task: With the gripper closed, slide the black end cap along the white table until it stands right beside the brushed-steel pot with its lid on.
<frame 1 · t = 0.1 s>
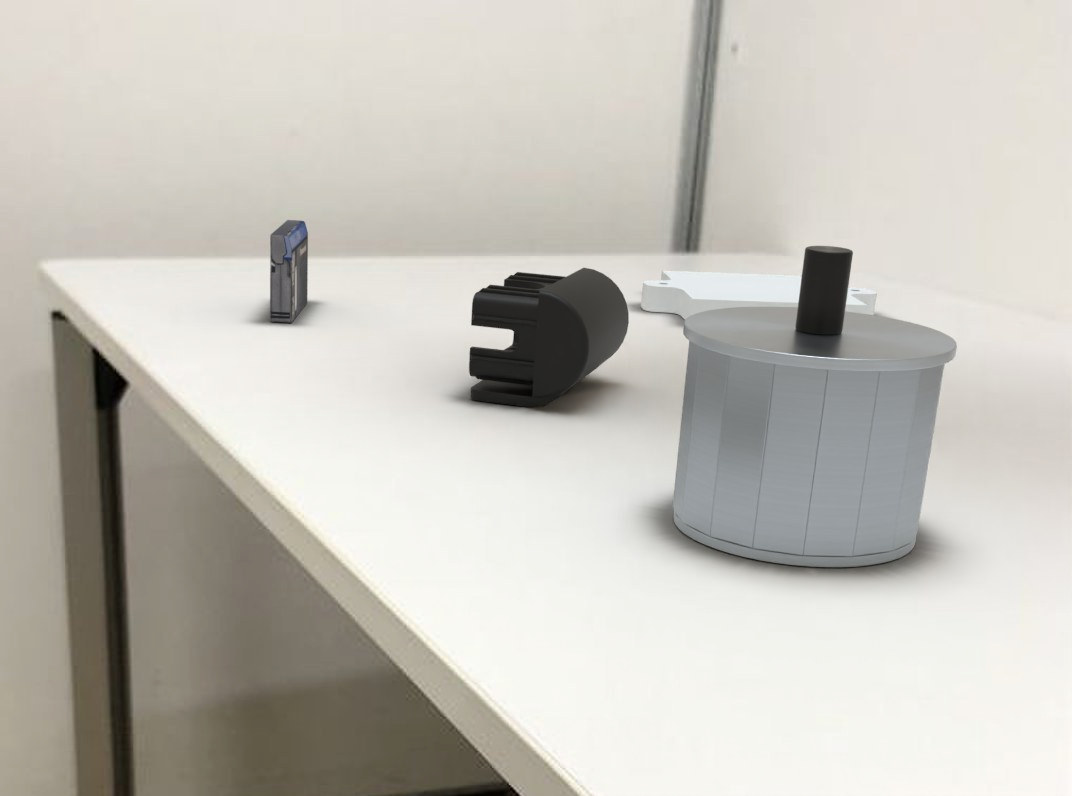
pot: (792, 528, 74), on the table
end cap: (547, 394, 97), on the table
mini dv tape: (289, 314, 117), on the table
pot lid: (817, 342, 70), point 8 cm above the table, touching pot
mounting plate: (756, 314, 125), on the table
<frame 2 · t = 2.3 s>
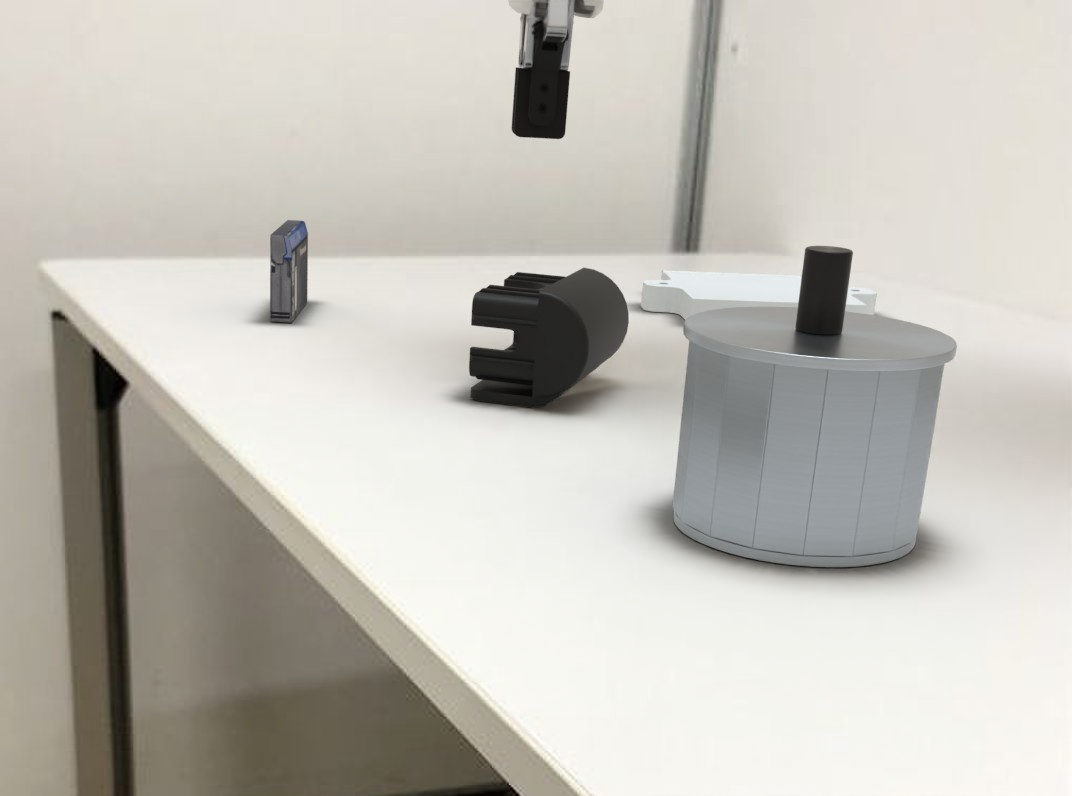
hand: (537, 136, 101), 14 cm above the table, tool pointing down, fingers closed
nothing on the table moved.
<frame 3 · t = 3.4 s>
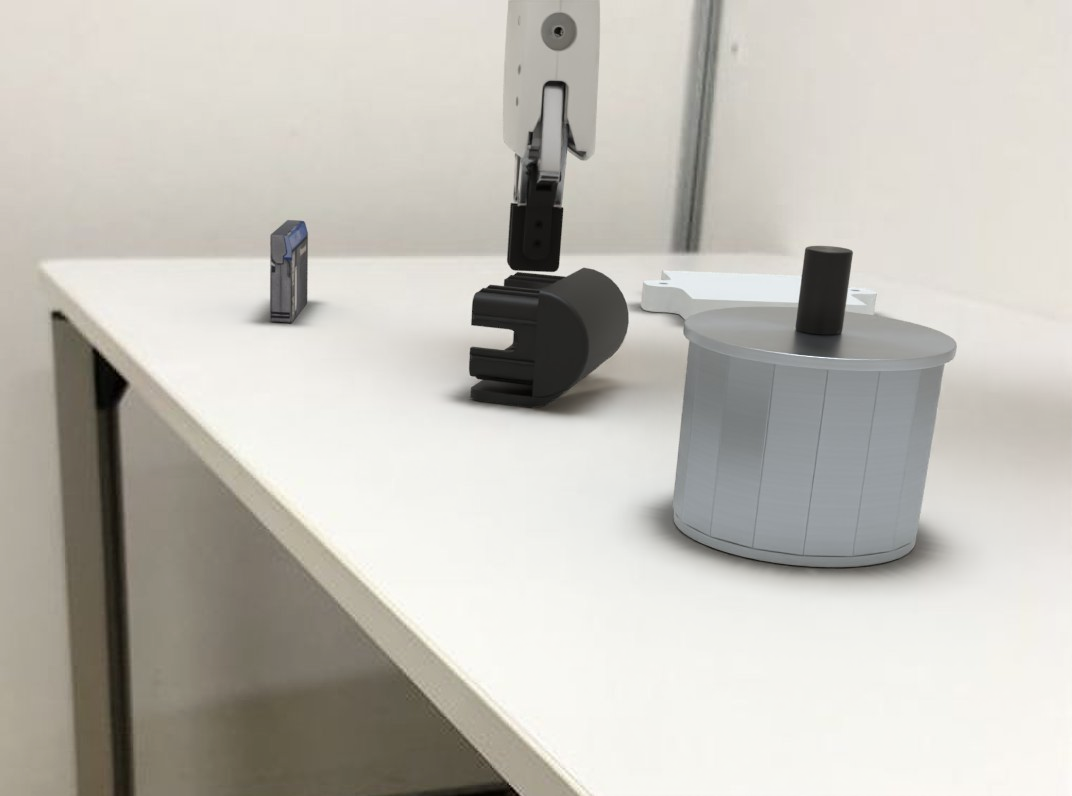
hand: (532, 268, 104), 6 cm above the table, tool pointing down, fingers closed
nothing on the table moved.
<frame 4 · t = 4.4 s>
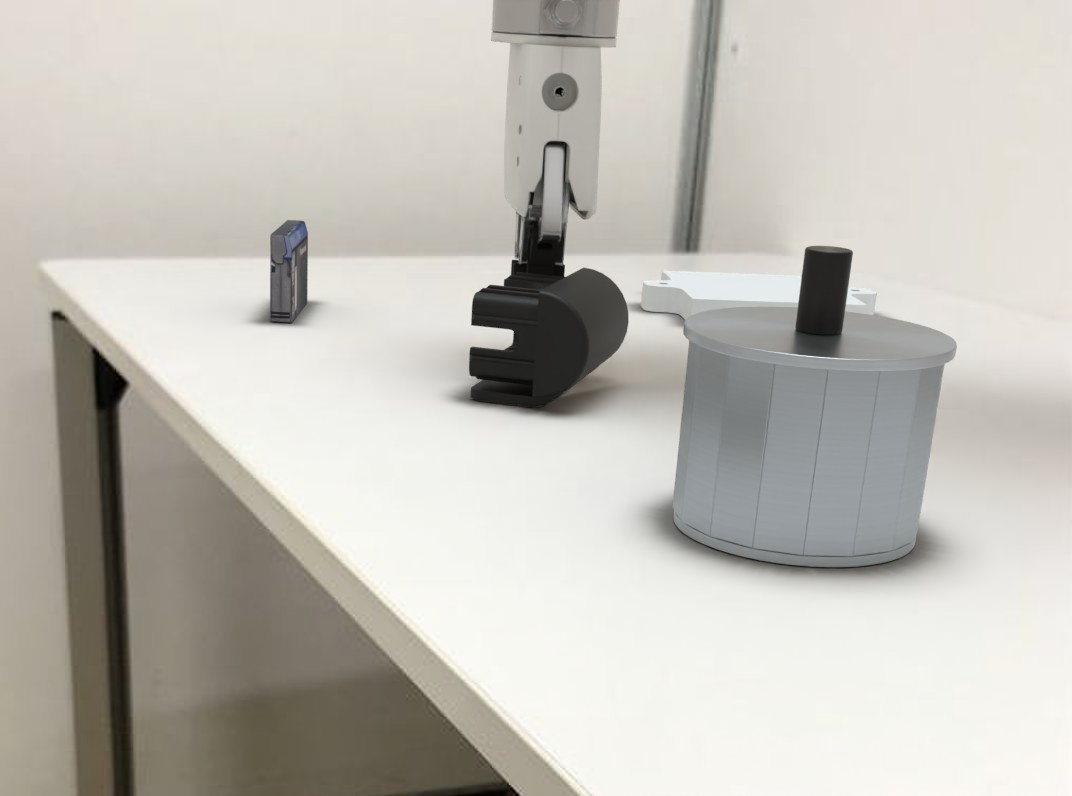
hand: (533, 325, 103), 2 cm above the table, tool pointing down, fingers closed
end cap: (547, 394, 97), on the table, touching gripper
everything else where it was.
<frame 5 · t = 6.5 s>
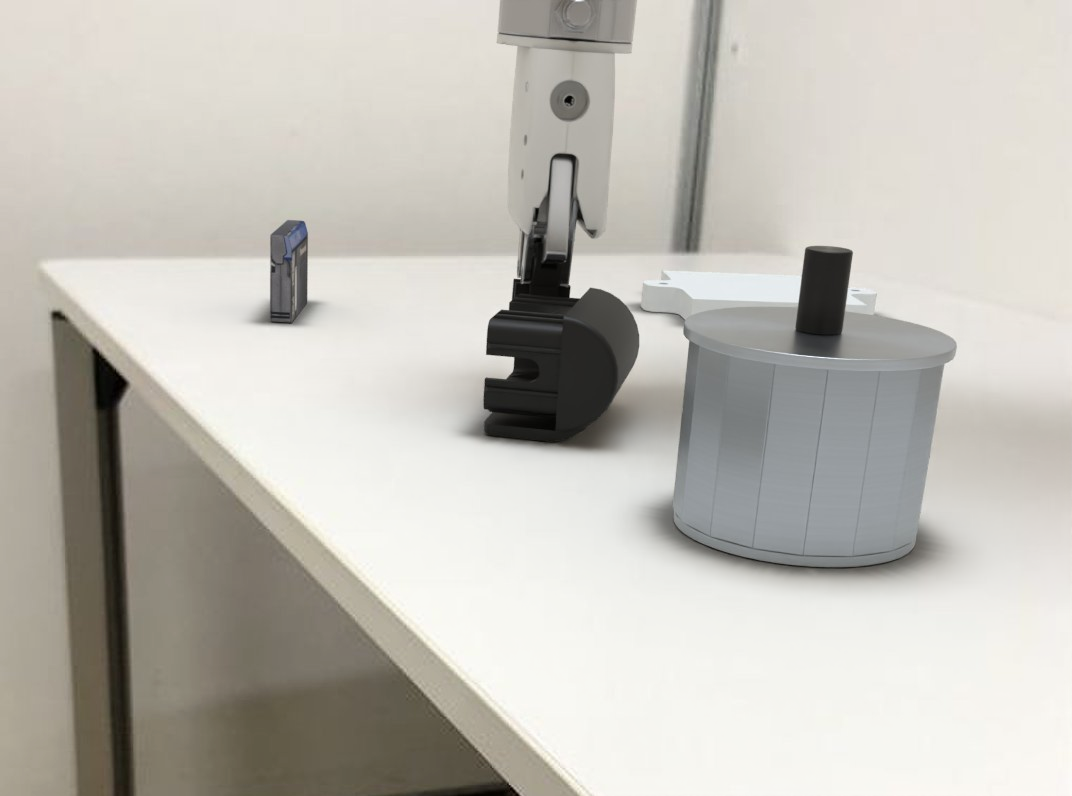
hand: (535, 349, 96), 2 cm above the table, tool pointing down, fingers closed
end cap: (560, 425, 90), on the table, touching gripper
everything else where it was.
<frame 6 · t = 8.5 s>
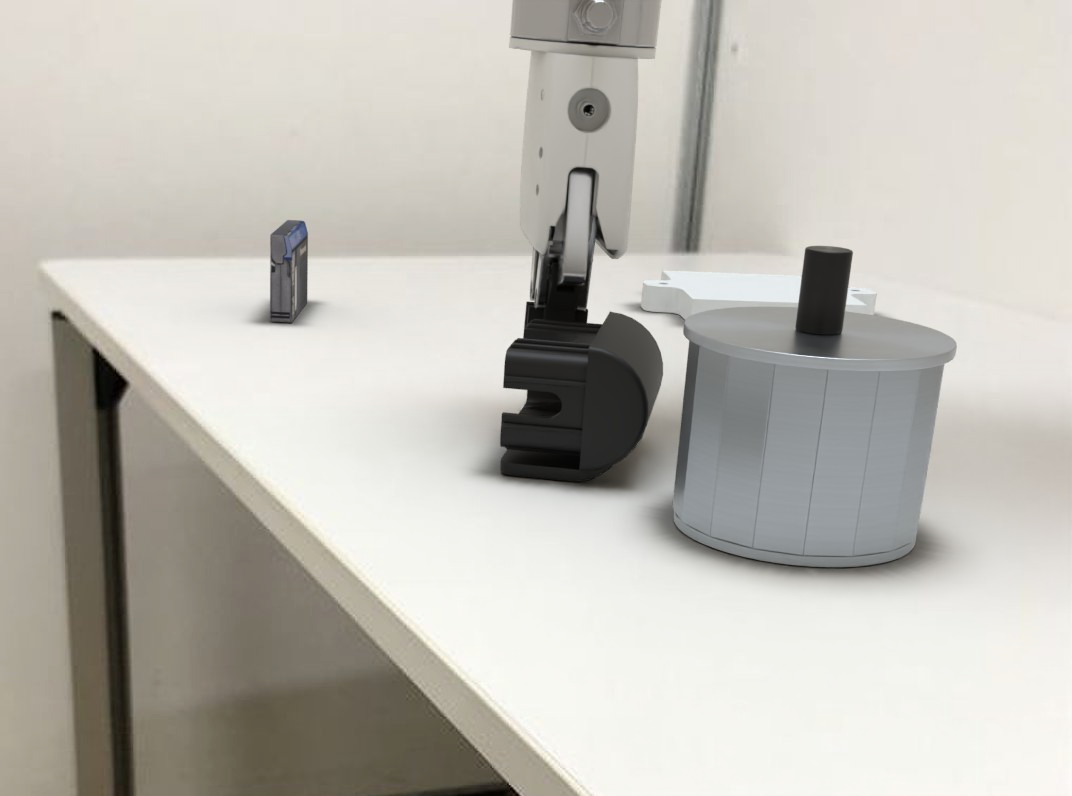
hand: (550, 377, 89), 2 cm above the table, tool pointing down, fingers closed
end cap: (580, 462, 83), on the table, touching gripper
everything else where it was.
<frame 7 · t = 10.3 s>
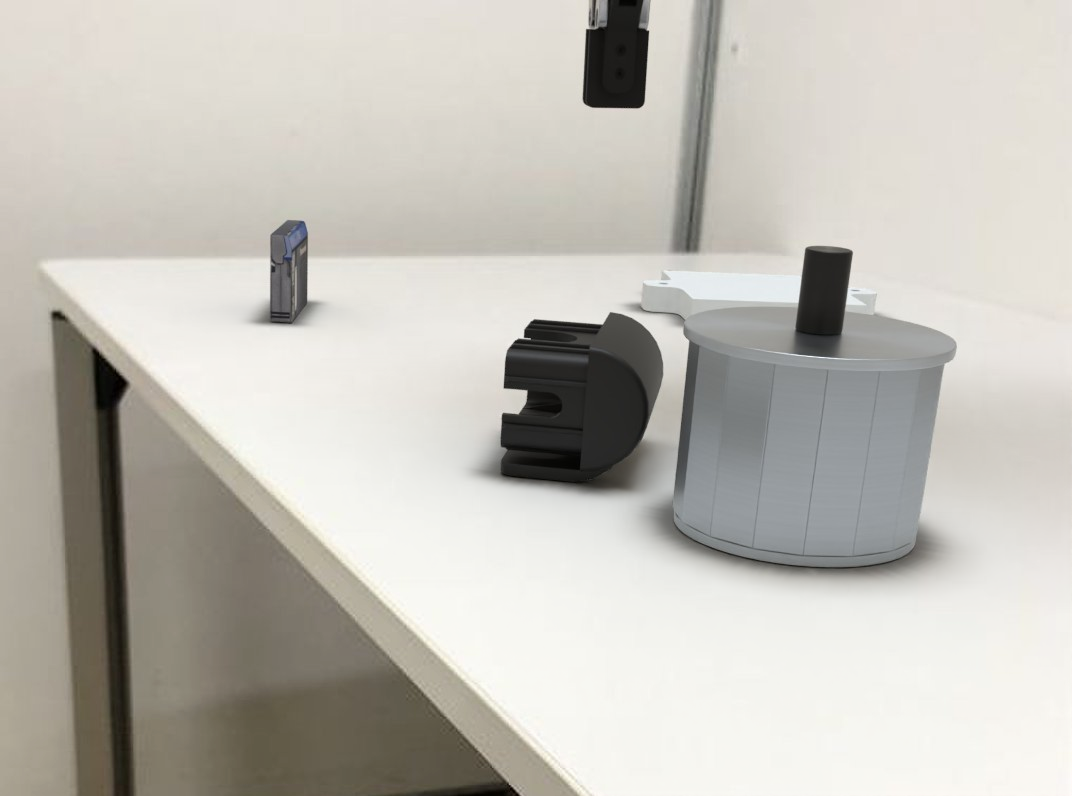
hand: (613, 106, 89), 17 cm above the table, tool pointing down, fingers closed
end cap: (580, 462, 83), on the table
everything else where it was.
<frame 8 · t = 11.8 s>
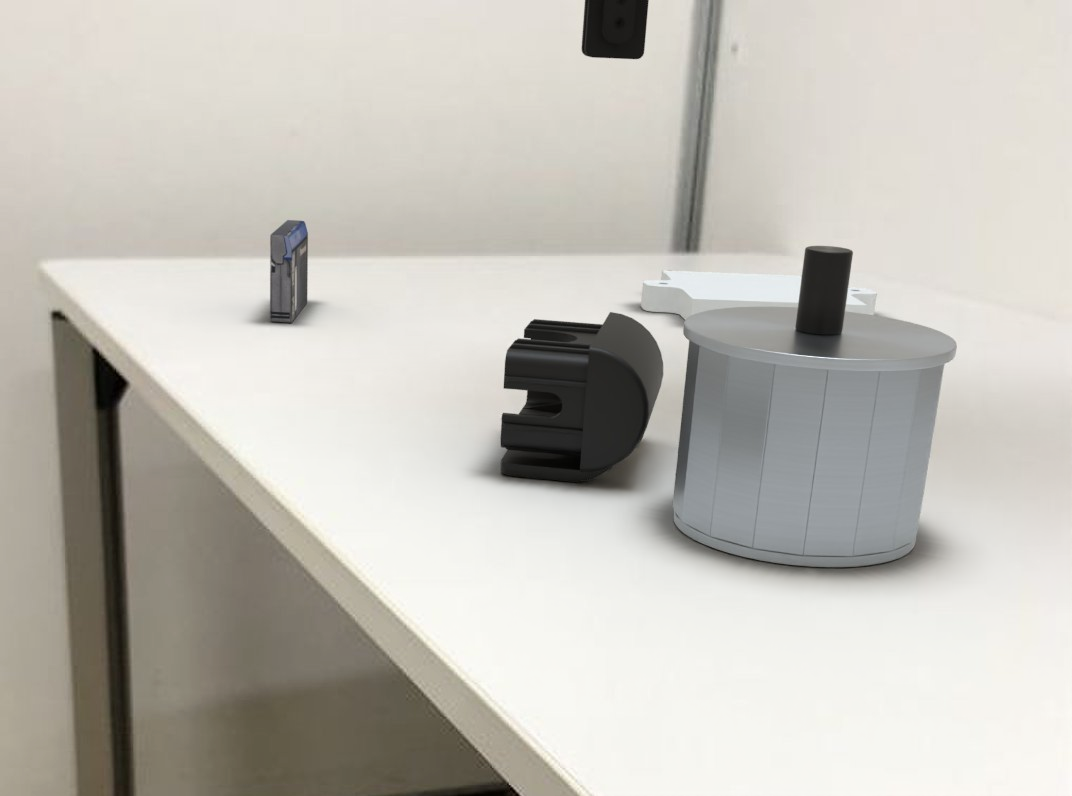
hand: (612, 56, 88), 19 cm above the table, tool pointing down, fingers closed
nothing on the table moved.
at the end: end cap inside the target area on the table beside the pot (1.0 cm from its centre), on the table; end cap 13.7 cm from the pot (horizontally); end cap moved 15.0 cm from its start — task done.
